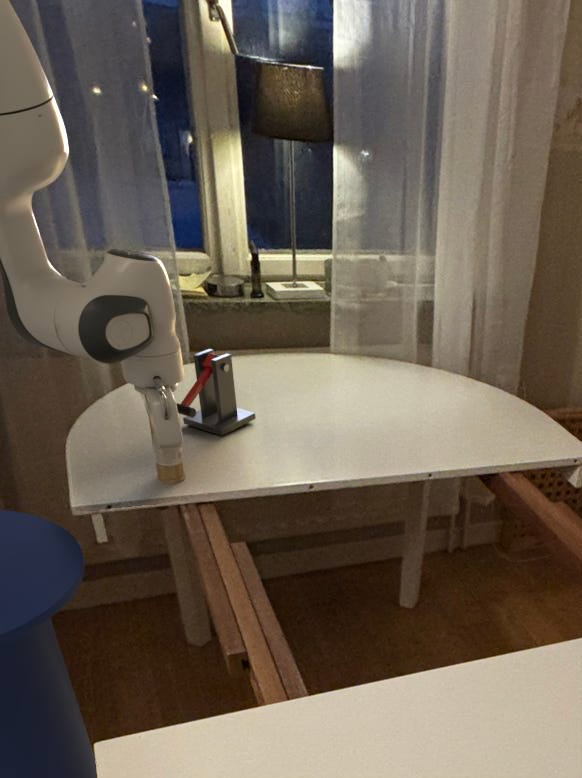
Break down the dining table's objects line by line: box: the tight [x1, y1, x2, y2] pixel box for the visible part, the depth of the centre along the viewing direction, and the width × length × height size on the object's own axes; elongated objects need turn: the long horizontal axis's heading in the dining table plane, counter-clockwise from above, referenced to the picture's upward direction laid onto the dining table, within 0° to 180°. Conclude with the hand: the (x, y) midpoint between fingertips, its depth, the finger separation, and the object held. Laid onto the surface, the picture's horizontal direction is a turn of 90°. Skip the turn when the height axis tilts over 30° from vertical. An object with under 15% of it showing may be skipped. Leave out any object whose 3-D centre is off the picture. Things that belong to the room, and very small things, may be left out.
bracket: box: [182, 348, 257, 436], centre depth 144 cm, size 10×9×13 cm
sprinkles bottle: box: [144, 401, 187, 485], centre depth 124 cm, size 5×5×14 cm
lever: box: [176, 353, 220, 418], centre depth 139 cm, size 13×5×2 cm
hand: (167, 450), depth 125 cm, fingers closed on sprinkles bottle, 4 cm apart
